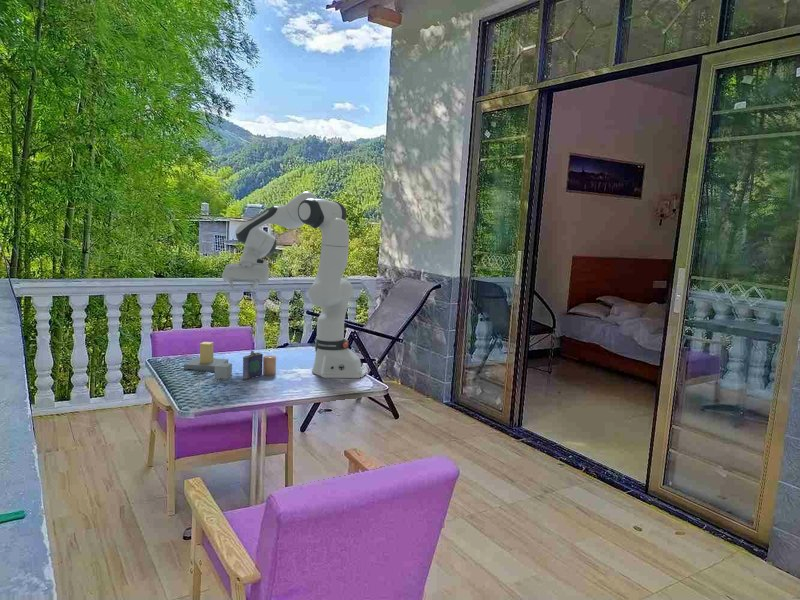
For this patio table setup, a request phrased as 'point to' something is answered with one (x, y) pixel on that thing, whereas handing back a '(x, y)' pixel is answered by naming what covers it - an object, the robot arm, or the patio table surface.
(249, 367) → the flask
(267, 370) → the brown upright cylinder
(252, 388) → the patio table surface
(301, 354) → the patio table surface
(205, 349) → the ochre block
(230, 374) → the grey block
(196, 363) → the slate tile
